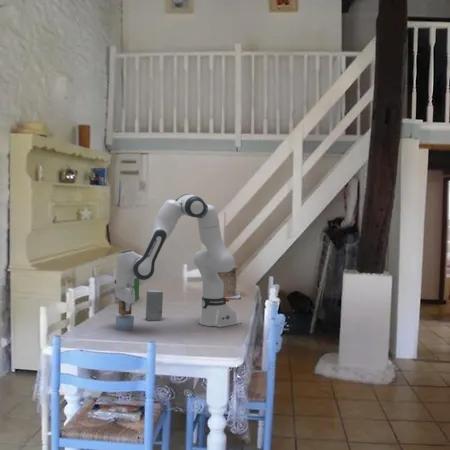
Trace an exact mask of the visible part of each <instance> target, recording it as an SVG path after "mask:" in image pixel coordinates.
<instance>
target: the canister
mask: <svg viewBox="0 0 450 450" xmlns="http://www.w3.org/2000/svg"><path fill="white" fill-rule="evenodd" d="M134 321H135V316H134V315H132V314H130V315H121V314H119V315H116V316H115V327H114V330H116V331H122V332H124V331H125V332H126V331H127V332H128V330H129V331H133V330H135V322H134Z"/></svg>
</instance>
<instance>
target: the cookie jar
mask: <svg viewBox="0 0 450 450" xmlns="http://www.w3.org/2000/svg"><path fill="white" fill-rule="evenodd" d="M237 270H238V266H236V265H235V264H234V267H233V269H232V270H231V271H229V272H218V275H219V277H220V279H221V280H222V281H223V283H224V293H223V297H225V298H229V299H230V300H231V299H232V300H240V298H241V291H239V290H237V285H238V284H237Z"/></svg>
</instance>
